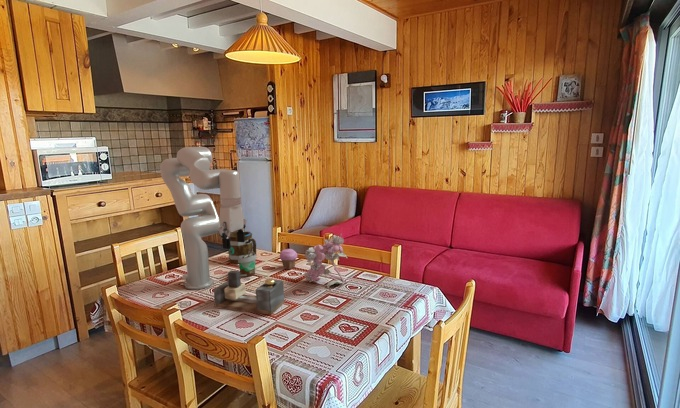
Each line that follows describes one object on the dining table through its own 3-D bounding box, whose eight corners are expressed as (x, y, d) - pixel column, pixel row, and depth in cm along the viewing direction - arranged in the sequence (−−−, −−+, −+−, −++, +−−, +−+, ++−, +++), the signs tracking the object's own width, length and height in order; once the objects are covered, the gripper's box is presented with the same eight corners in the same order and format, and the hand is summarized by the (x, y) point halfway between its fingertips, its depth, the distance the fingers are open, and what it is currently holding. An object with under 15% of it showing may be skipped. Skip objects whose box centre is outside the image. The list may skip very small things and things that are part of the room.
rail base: (215, 307, 153) (213, 284, 151) (231, 296, 163) (229, 274, 161) (271, 314, 145) (270, 291, 143) (284, 302, 155) (283, 280, 154)
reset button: (264, 295, 149) (263, 281, 148) (268, 291, 152) (267, 278, 151) (272, 296, 148) (271, 282, 147) (276, 292, 151) (276, 279, 150)
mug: (223, 261, 210) (221, 235, 207) (243, 255, 220) (241, 230, 218) (246, 268, 198) (244, 240, 195) (266, 261, 208) (264, 234, 206)
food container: (251, 279, 182) (249, 259, 180) (239, 278, 183) (237, 258, 182) (261, 270, 194) (260, 251, 192) (250, 270, 195) (248, 251, 194)
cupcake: (291, 271, 192) (290, 252, 190) (277, 269, 195) (276, 250, 194) (300, 266, 199) (299, 247, 198) (286, 264, 203) (285, 245, 201)
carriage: (225, 298, 153) (223, 274, 151) (235, 291, 159) (233, 268, 158) (235, 299, 151) (234, 275, 150) (245, 292, 158) (244, 269, 156)
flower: (339, 267, 191) (317, 226, 184) (366, 276, 172) (342, 230, 165) (309, 293, 183) (283, 250, 175) (333, 305, 164) (306, 257, 156)
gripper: (235, 198, 158) (238, 239, 161) (208, 205, 142) (212, 250, 144) (251, 199, 155) (254, 240, 158) (225, 206, 139) (229, 252, 142)
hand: (234, 245), depth 151 cm, fingers open, 9 cm apart
